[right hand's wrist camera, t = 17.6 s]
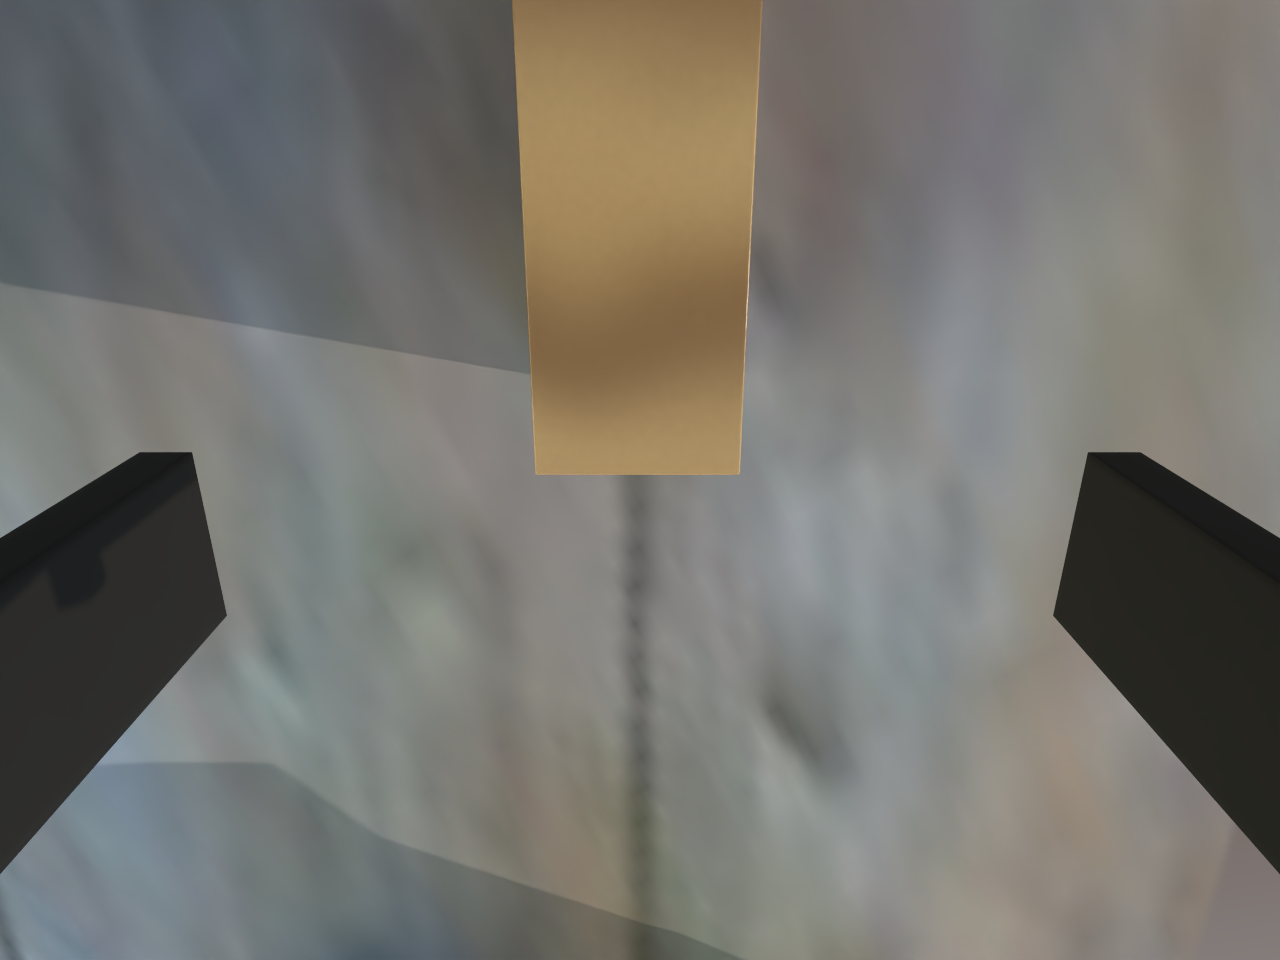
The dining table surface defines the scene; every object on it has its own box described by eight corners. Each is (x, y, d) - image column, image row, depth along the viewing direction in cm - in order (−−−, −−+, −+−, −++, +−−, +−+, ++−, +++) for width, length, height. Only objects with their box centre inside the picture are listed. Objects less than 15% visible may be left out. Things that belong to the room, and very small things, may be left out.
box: (711, 381, 33) (739, 475, 23) (565, 381, 33) (535, 475, 23) (739, -462, 24) (804, -858, 14) (536, -462, 24) (469, -858, 14)
